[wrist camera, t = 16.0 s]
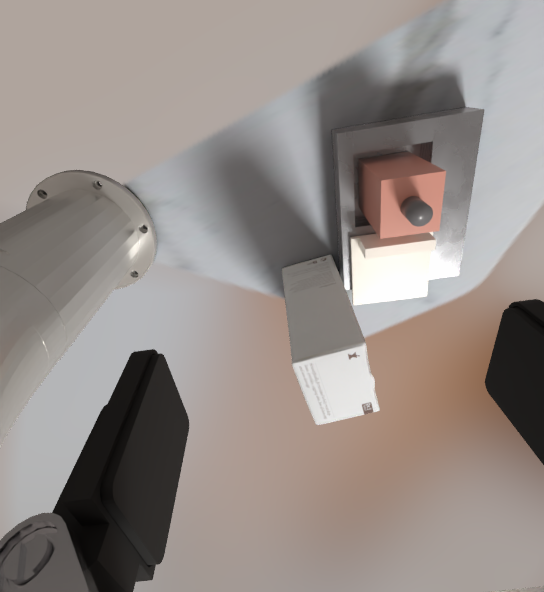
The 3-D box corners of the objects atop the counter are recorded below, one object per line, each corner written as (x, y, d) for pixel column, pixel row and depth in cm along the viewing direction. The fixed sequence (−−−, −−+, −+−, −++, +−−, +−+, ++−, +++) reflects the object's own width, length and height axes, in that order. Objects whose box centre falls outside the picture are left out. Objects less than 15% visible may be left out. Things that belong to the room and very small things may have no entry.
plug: (358, 159, 31) (389, 187, 23) (408, 151, 31) (459, 177, 22) (358, 207, 34) (387, 249, 25) (405, 200, 33) (450, 241, 25)
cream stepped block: (352, 302, 36) (358, 319, 34) (350, 237, 32) (356, 250, 30) (424, 293, 36) (436, 310, 33) (431, 225, 32) (445, 238, 29)
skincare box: (280, 266, 38) (284, 359, 25) (334, 251, 37) (366, 340, 24) (300, 325, 42) (312, 429, 29) (349, 312, 41) (383, 416, 28)
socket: (339, 276, 38) (344, 290, 36) (331, 129, 30) (336, 133, 28) (446, 262, 37) (458, 275, 35) (466, 107, 29) (484, 109, 27)
